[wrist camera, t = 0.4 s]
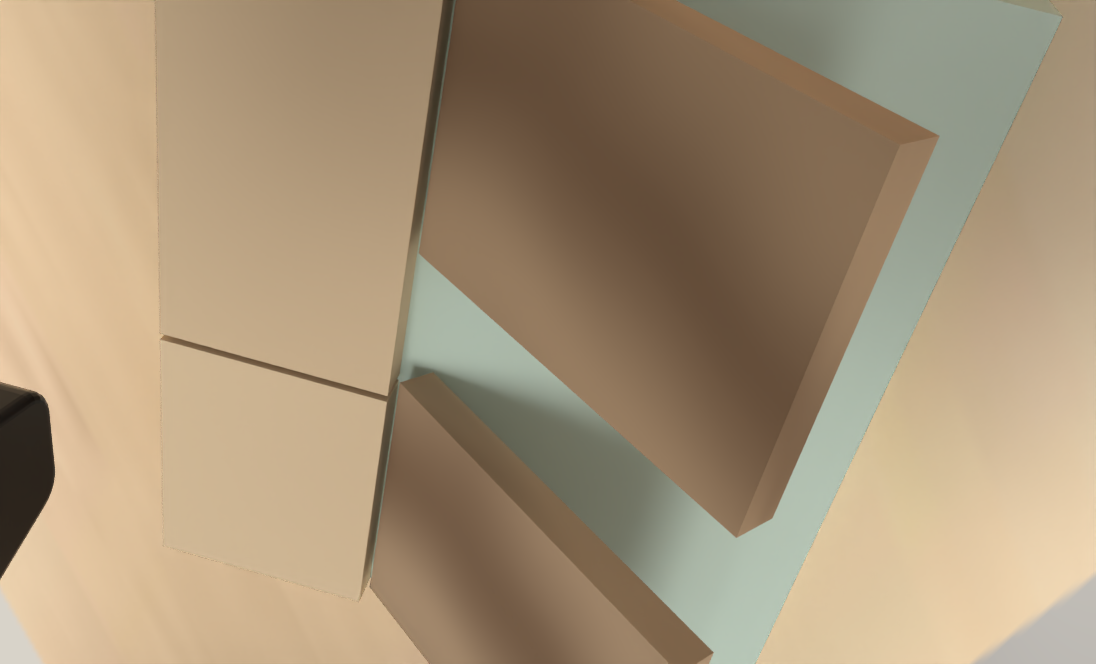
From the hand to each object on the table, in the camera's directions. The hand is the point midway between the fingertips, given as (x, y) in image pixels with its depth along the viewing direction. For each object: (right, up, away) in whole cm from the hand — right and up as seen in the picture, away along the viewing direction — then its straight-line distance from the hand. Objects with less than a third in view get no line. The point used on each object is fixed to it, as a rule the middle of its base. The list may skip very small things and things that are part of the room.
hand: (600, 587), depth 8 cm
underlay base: (-1, +3, +13) cm, 14 cm away
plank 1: (+1, +4, +8) cm, 9 cm away
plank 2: (-1, -3, +13) cm, 13 cm away
